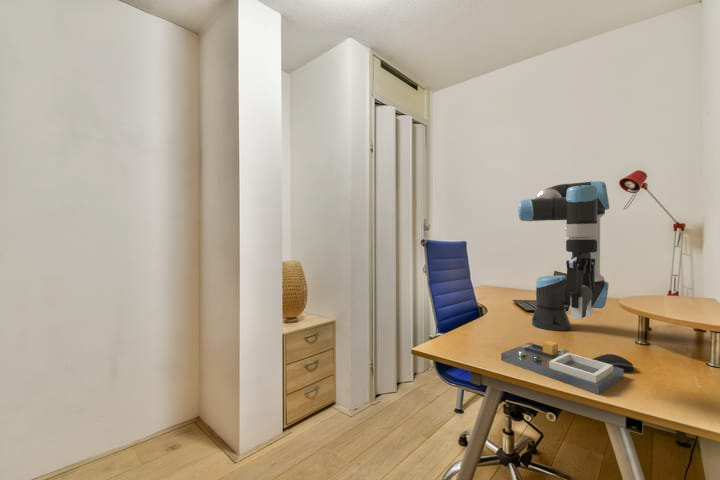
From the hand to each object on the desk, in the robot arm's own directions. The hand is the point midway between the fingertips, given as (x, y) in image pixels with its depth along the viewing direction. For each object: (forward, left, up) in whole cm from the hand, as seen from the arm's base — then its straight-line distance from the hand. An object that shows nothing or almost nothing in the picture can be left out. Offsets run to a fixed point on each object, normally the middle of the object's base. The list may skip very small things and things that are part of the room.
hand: (580, 316), depth 93 cm
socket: (0, 0, -16) cm, 16 cm away
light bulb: (0, 0, 0) cm, 0 cm away
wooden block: (-6, -11, -16) cm, 20 cm away
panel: (-2, -7, -18) cm, 20 cm away
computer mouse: (-16, +2, -19) cm, 25 cm away
